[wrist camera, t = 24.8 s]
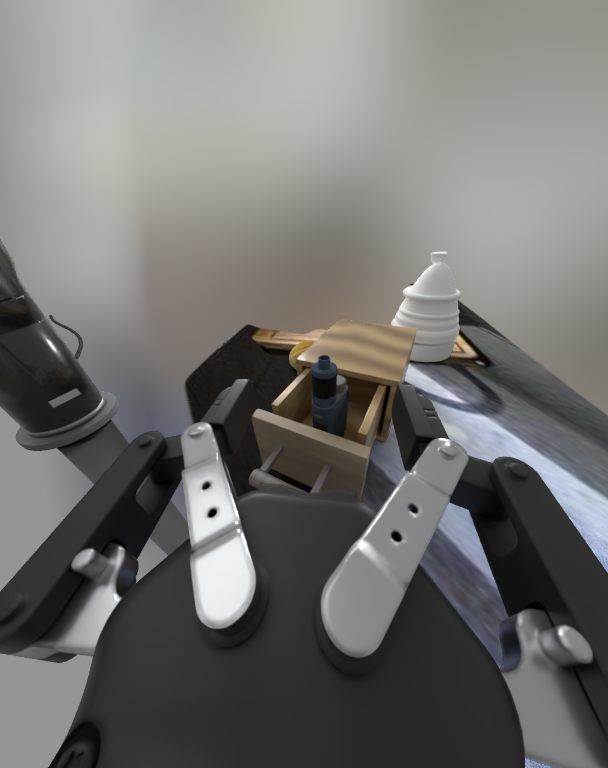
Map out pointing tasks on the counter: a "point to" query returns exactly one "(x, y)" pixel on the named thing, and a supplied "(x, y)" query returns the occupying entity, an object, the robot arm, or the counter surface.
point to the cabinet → (366, 356)
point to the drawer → (318, 438)
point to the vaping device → (329, 397)
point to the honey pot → (431, 312)
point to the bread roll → (299, 352)
